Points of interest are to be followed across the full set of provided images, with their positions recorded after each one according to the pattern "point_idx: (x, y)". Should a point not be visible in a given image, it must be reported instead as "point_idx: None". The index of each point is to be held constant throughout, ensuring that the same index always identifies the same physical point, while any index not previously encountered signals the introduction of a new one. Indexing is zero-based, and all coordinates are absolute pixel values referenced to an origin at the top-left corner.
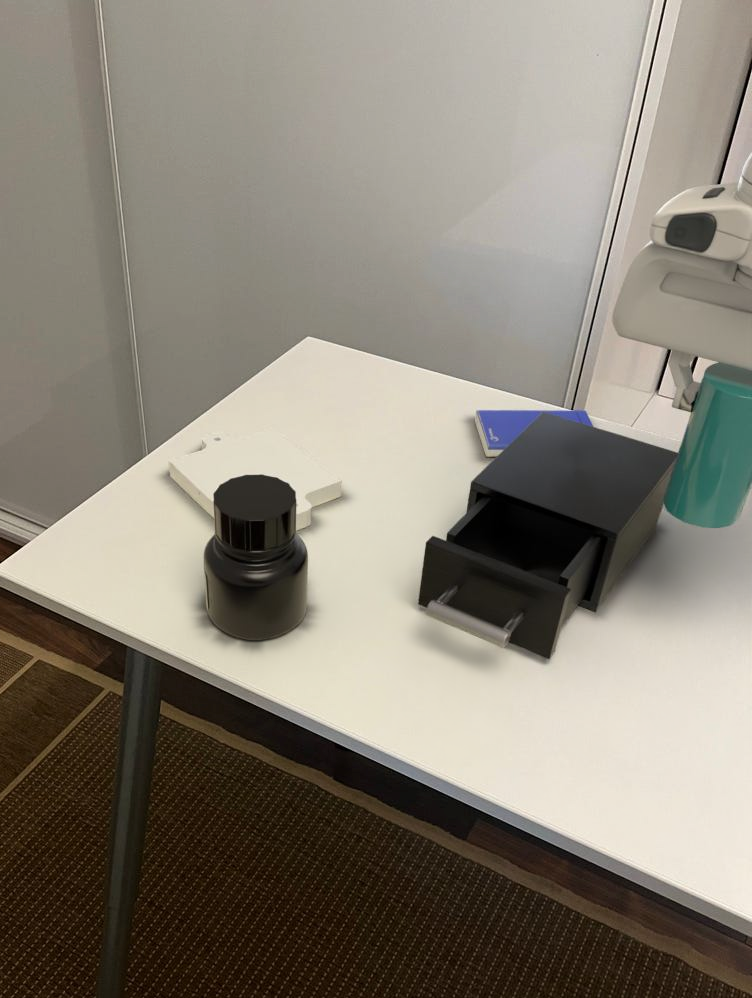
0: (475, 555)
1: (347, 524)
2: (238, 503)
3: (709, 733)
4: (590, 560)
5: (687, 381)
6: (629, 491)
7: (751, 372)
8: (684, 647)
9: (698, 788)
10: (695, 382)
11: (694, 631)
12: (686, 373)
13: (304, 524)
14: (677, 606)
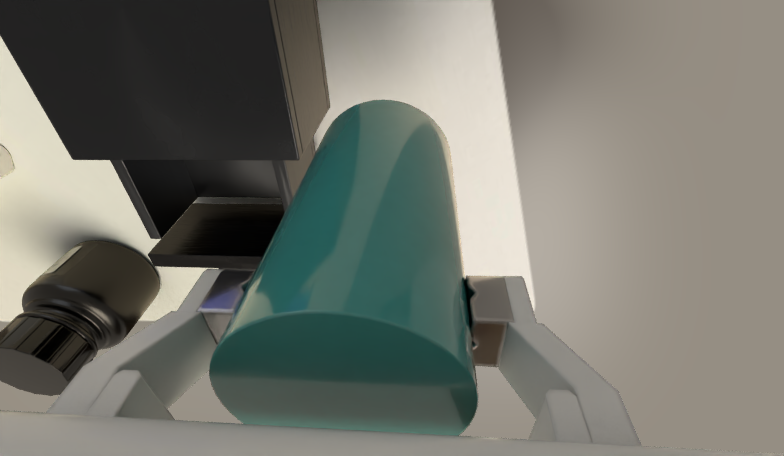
0: (205, 260)
1: (24, 124)
2: (30, 383)
3: (492, 208)
4: (294, 163)
5: (203, 351)
6: (242, 30)
7: (335, 367)
8: (439, 105)
9: (495, 261)
10: (213, 317)
11: (441, 68)
12: (180, 363)
13: (7, 161)
14: (406, 28)
